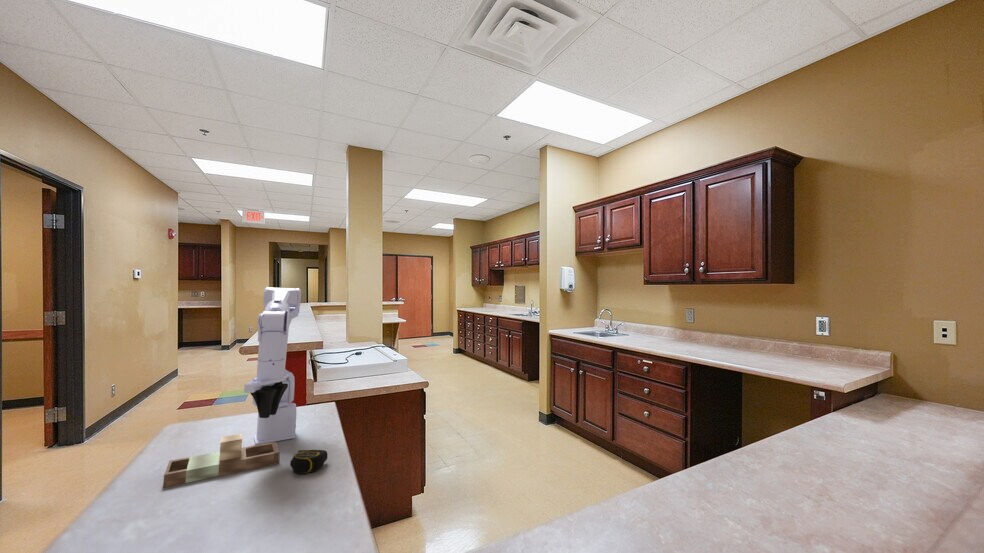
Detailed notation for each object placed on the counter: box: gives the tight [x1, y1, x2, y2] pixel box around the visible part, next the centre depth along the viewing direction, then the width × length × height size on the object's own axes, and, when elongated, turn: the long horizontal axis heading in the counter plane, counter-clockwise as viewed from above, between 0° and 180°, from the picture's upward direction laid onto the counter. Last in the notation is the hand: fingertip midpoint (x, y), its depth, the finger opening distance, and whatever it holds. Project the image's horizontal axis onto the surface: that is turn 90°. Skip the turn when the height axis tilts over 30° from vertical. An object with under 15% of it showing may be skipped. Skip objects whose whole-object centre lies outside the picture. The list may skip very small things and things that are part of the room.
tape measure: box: [289, 449, 328, 474], centre depth 83 cm, size 7×7×4 cm
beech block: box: [219, 433, 243, 461], centre depth 84 cm, size 4×4×4 cm
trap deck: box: [162, 441, 280, 489], centre depth 83 cm, size 20×8×2 cm, turn 126°
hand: (267, 416), depth 88 cm, fingers closed
